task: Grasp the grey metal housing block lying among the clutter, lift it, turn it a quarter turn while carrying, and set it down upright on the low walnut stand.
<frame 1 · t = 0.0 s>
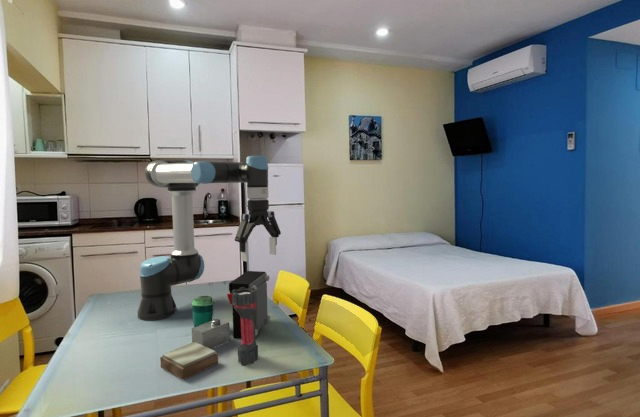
hand: (259, 257, 138), 28 cm above the table, fingers open, 13 cm apart
housing: (211, 344, 131), on the table
flashlight: (246, 362, 118), on the table
stand: (189, 365, 116), on the table
electrical component: (251, 329, 143), on the table
cup: (204, 330, 143), on the table
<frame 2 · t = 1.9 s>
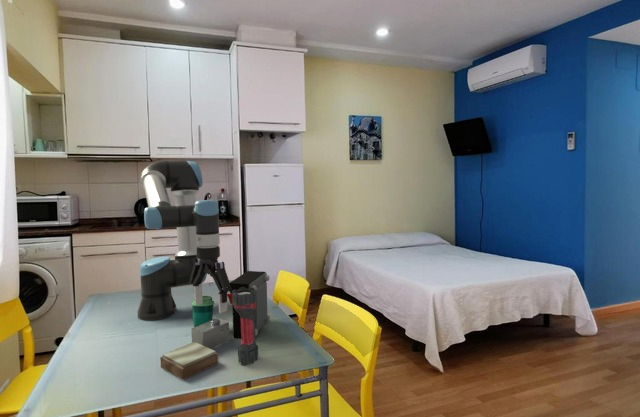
hand: (210, 307, 129), 13 cm above the table, fingers open, 13 cm apart
nothing on the table moved.
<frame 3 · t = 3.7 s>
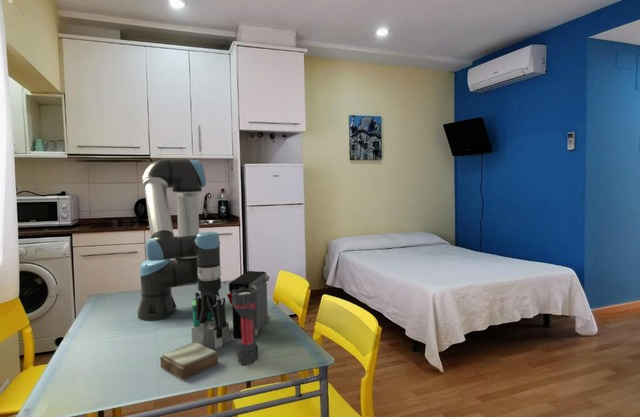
hand: (211, 343, 130), 0 cm above the table, fingers open, 6 cm apart
nothing on the table moved.
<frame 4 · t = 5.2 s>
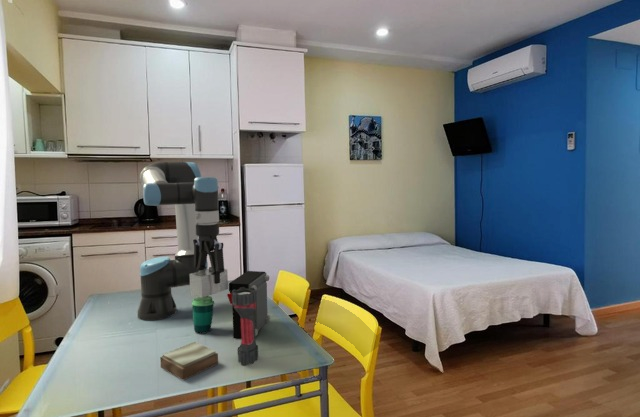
hand: (209, 290, 129), 19 cm above the table, fingers closed on housing, 6 cm apart
housing: (209, 291, 129), point 18 cm above the table, touching gripper
everything else where it was.
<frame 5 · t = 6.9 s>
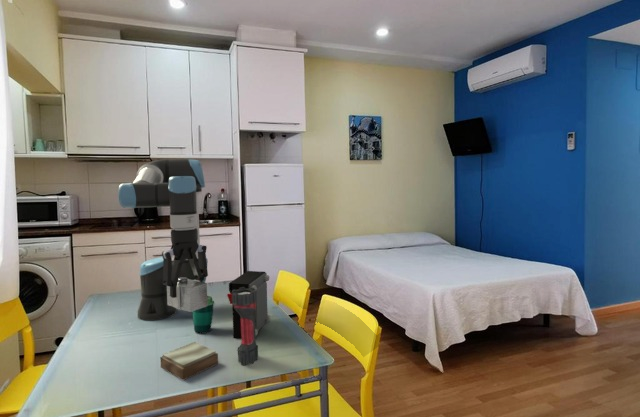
hand: (187, 304, 114), 19 cm above the table, fingers closed on housing, 6 cm apart
housing: (187, 305, 114), point 19 cm above the table, touching gripper
everything else where it was.
when the fingers open (5 cm above the table, at t = 9.6 s): housing stays where it is, resting on stand.
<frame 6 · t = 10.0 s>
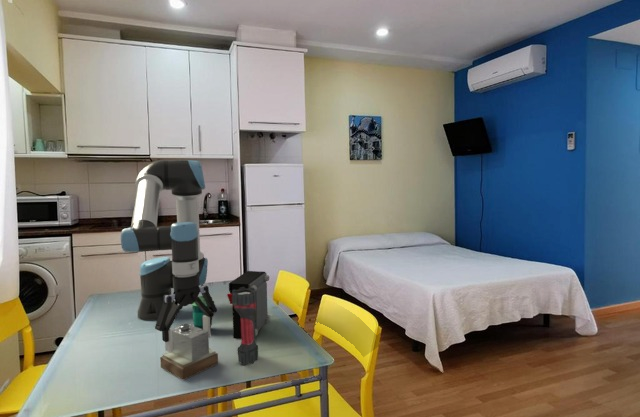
hand: (188, 343, 115), 7 cm above the table, fingers open, 12 cm apart
housing: (189, 352, 116), point 4 cm above the table, touching stand
everything else where it was.
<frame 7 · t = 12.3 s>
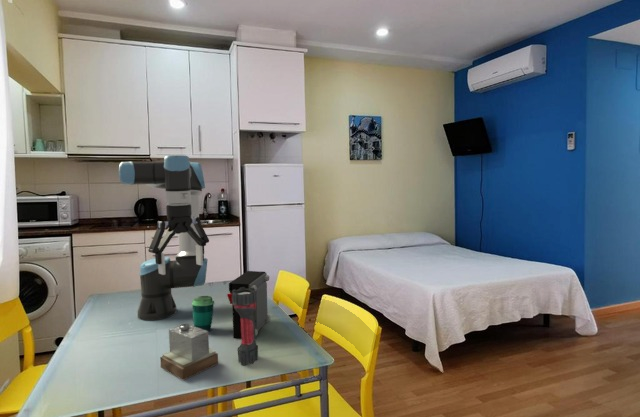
hand: (181, 269, 123), 28 cm above the table, fingers open, 13 cm apart
nothing on the table moved.
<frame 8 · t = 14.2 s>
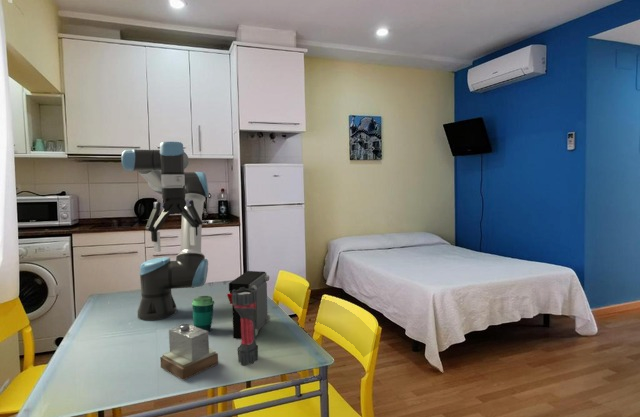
hand: (176, 248, 133), 33 cm above the table, fingers open, 13 cm apart
nothing on the table moved.
at the end: housing inside the target area on the stand (0.0 cm from its centre), point 4.0 cm above the stand's base; housing tilted 0°; the gripper is holding nothing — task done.
